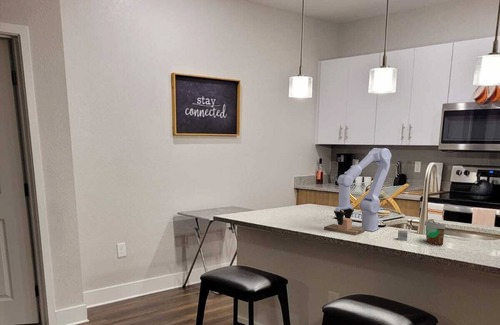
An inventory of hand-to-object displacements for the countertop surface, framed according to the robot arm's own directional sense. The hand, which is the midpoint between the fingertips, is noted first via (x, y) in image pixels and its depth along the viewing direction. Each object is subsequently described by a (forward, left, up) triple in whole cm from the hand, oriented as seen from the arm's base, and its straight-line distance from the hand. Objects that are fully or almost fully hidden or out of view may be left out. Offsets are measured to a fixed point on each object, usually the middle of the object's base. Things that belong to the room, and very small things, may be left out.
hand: (343, 223), depth 199 cm
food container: (-8, +41, -4) cm, 42 cm away
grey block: (-4, +29, -4) cm, 30 cm away
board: (0, 0, -4) cm, 4 cm away
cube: (0, +1, -2) cm, 3 cm away
